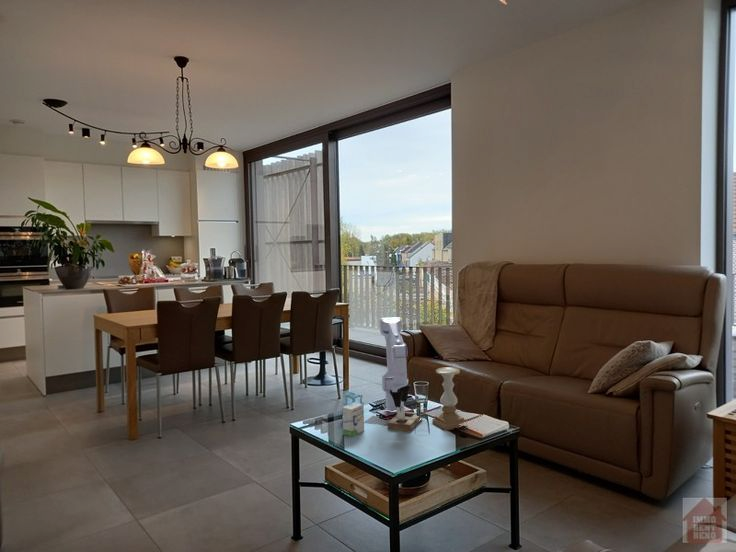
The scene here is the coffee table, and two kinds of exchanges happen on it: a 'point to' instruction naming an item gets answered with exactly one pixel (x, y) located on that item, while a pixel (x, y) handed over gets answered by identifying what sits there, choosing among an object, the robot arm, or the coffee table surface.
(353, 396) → the chair
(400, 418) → the peg
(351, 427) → the ink box
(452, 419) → the candle holder
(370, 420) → the mat
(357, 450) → the coffee table surface
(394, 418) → the block
